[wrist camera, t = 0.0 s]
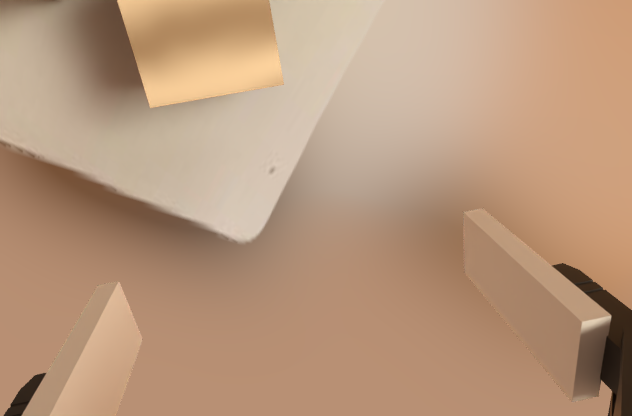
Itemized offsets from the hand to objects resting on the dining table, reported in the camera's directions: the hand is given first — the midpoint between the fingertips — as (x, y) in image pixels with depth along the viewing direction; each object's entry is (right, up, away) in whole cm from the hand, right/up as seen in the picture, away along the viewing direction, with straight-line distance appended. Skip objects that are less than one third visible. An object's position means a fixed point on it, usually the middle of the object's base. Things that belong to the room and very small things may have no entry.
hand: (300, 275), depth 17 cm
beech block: (-7, +16, +16) cm, 24 cm away
